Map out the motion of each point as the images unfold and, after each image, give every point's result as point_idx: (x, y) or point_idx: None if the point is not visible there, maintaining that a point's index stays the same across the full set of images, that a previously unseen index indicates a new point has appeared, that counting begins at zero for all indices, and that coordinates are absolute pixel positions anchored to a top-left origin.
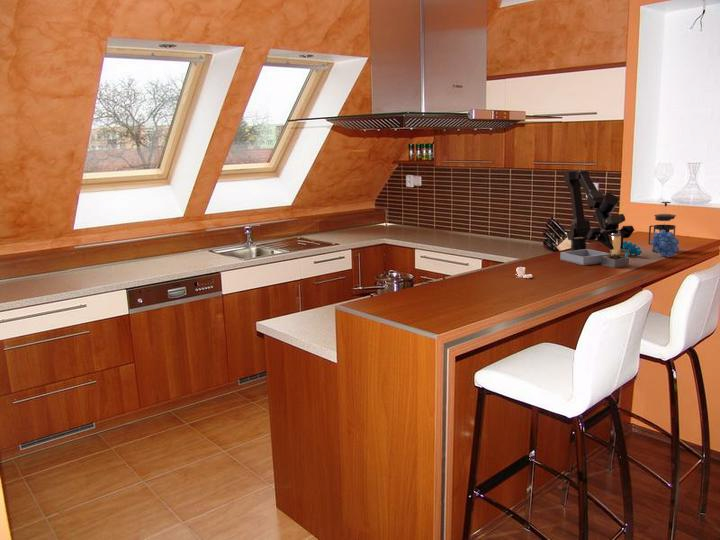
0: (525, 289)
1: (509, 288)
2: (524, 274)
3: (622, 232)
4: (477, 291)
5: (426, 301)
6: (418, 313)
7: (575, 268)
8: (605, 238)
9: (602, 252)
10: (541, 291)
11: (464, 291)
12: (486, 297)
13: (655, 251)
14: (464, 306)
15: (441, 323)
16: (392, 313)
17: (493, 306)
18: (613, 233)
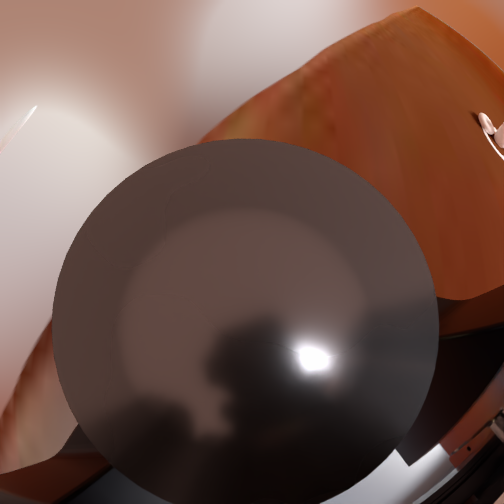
0: (439, 57)
1: (461, 71)
2: (496, 134)
3: (27, 487)
4: (480, 76)
5: (486, 65)
6: (463, 40)
7: (439, 238)
8: (441, 306)
9: None
10: (412, 41)
11: (490, 82)
12: (454, 50)
13: None
14: (449, 37)
15: (431, 17)
16: (477, 49)
17: (426, 25)
18: (365, 295)
